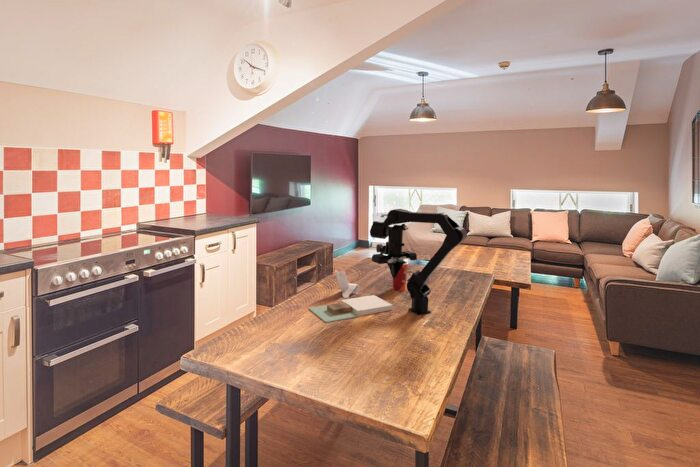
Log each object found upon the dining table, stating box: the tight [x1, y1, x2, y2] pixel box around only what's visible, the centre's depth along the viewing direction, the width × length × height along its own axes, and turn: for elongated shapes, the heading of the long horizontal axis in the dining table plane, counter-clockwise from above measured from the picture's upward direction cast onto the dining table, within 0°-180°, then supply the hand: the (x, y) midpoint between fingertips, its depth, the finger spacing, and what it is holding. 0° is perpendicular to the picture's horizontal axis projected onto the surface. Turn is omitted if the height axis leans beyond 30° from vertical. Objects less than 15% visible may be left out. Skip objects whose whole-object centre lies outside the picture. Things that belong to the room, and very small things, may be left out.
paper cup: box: [392, 258, 409, 292], centre depth 192 cm, size 8×8×14 cm
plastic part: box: [334, 269, 360, 299], centre depth 183 cm, size 8×10×12 cm
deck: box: [340, 294, 393, 317], centre depth 167 cm, size 14×16×2 cm
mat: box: [308, 304, 360, 323], centre depth 160 cm, size 16×14×1 cm
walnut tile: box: [326, 302, 352, 315], centre depth 161 cm, size 8×6×2 cm
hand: (393, 277), depth 168 cm, fingers closed
